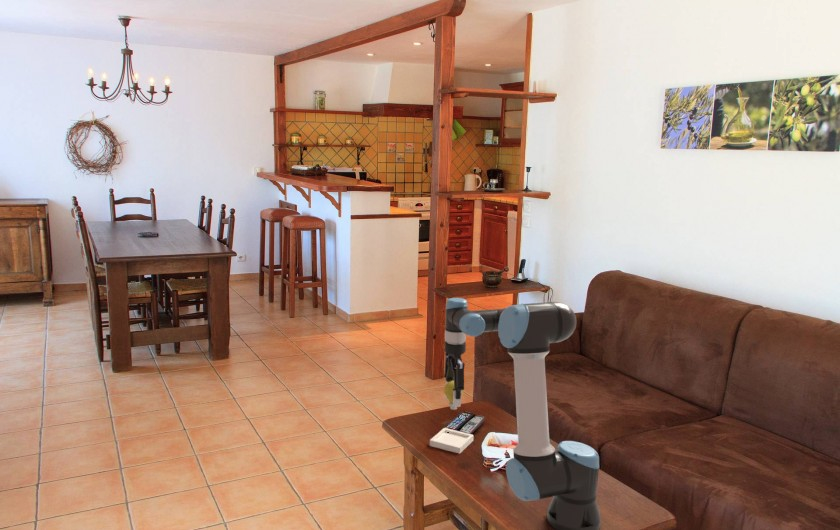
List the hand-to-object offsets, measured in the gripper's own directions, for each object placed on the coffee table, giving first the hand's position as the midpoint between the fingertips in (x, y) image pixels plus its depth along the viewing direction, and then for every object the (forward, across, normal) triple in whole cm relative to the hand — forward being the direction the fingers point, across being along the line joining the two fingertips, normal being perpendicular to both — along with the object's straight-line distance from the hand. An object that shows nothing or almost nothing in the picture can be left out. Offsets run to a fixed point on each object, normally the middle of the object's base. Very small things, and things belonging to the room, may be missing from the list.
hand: (453, 402), depth 230 cm
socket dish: (+16, 0, 0) cm, 16 cm away
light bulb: (+2, -1, 0) cm, 2 cm away
